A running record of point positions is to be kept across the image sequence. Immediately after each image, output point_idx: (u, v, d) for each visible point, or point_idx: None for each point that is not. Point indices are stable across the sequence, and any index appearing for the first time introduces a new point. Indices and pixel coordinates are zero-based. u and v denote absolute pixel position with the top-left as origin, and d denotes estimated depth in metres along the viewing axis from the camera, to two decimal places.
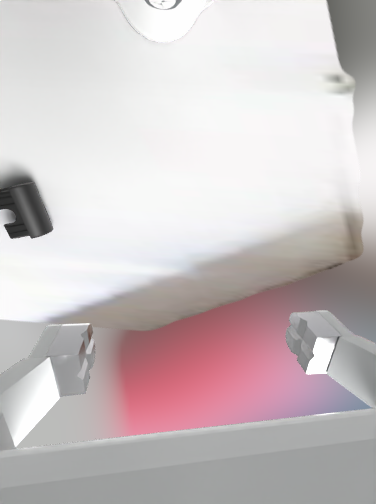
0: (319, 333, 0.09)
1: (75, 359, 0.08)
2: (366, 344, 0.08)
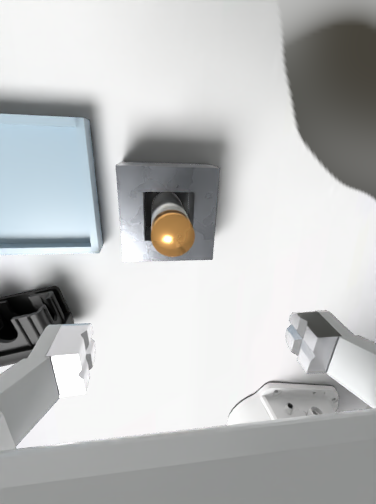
0: (319, 333, 0.09)
1: (75, 359, 0.08)
2: (366, 345, 0.08)
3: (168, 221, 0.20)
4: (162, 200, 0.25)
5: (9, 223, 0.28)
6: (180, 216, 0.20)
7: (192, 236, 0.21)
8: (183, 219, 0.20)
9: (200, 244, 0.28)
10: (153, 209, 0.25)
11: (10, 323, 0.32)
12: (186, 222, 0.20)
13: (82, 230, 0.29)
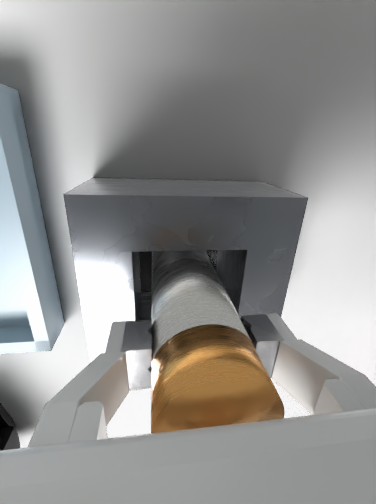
0: (261, 337, 0.09)
1: (148, 354, 0.08)
2: (305, 349, 0.08)
3: (208, 395, 0.06)
4: (175, 266, 0.12)
5: None
6: (246, 375, 0.06)
7: None
8: (256, 386, 0.06)
9: None
10: (155, 287, 0.11)
11: None
12: (264, 392, 0.06)
13: (19, 306, 0.15)
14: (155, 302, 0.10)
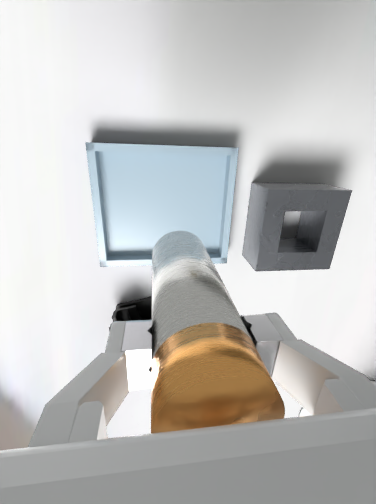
0: (261, 337, 0.09)
1: (148, 354, 0.08)
2: (305, 349, 0.08)
3: (208, 393, 0.06)
4: (175, 264, 0.12)
5: (151, 237, 0.31)
6: (246, 373, 0.06)
7: None
8: (257, 384, 0.06)
9: (322, 255, 0.31)
10: (156, 286, 0.11)
11: None
12: (265, 390, 0.06)
13: (210, 243, 0.33)
14: (155, 301, 0.10)
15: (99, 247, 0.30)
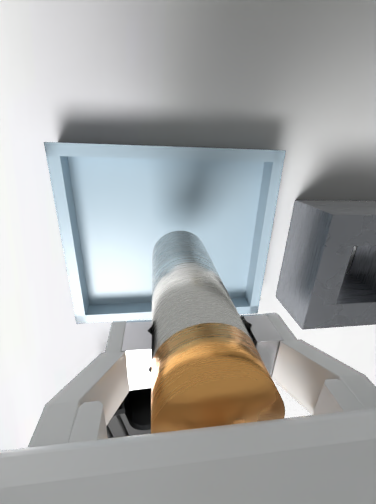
0: (261, 337, 0.09)
1: (148, 354, 0.08)
2: (306, 349, 0.08)
3: (208, 393, 0.06)
4: (175, 264, 0.12)
5: (151, 279, 0.22)
6: (246, 373, 0.06)
7: None
8: (257, 384, 0.06)
9: None
10: (156, 286, 0.11)
11: (129, 392, 0.26)
12: (265, 391, 0.06)
13: (234, 284, 0.23)
14: (155, 301, 0.10)
15: (73, 297, 0.20)
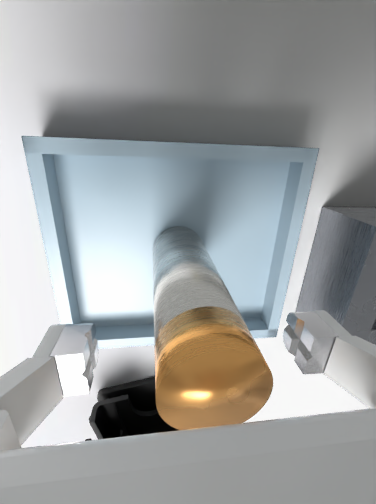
0: (316, 333, 0.09)
1: (79, 359, 0.08)
2: (364, 345, 0.08)
3: (206, 364, 0.07)
4: (175, 257, 0.12)
5: None
6: (239, 347, 0.07)
7: (266, 389, 0.08)
8: (248, 356, 0.07)
9: None
10: (157, 277, 0.12)
11: (127, 423, 0.23)
12: (255, 362, 0.07)
13: (249, 303, 0.20)
14: (157, 290, 0.11)
15: (62, 322, 0.17)
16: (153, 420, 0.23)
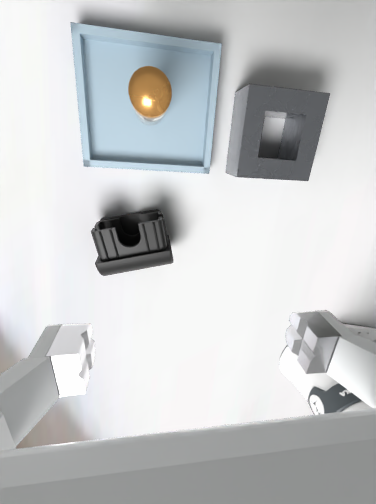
0: (319, 333, 0.09)
1: (75, 359, 0.08)
2: (367, 345, 0.08)
3: (145, 72, 0.20)
4: None
5: (136, 142, 0.32)
6: (157, 69, 0.20)
7: (169, 93, 0.21)
8: (160, 72, 0.20)
9: (301, 165, 0.32)
10: None
11: (118, 240, 0.36)
12: (163, 75, 0.20)
13: (194, 153, 0.33)
14: None
15: (83, 144, 0.30)
16: (135, 240, 0.37)
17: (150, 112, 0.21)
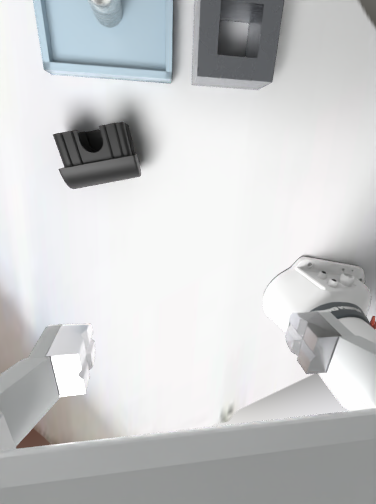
0: (319, 333, 0.09)
1: (75, 359, 0.08)
2: (367, 345, 0.08)
3: None
4: None
5: (96, 46, 0.32)
6: None
7: None
8: None
9: (263, 63, 0.32)
10: None
11: None
12: None
13: (156, 60, 0.33)
14: None
15: (41, 43, 0.30)
16: None
17: None
